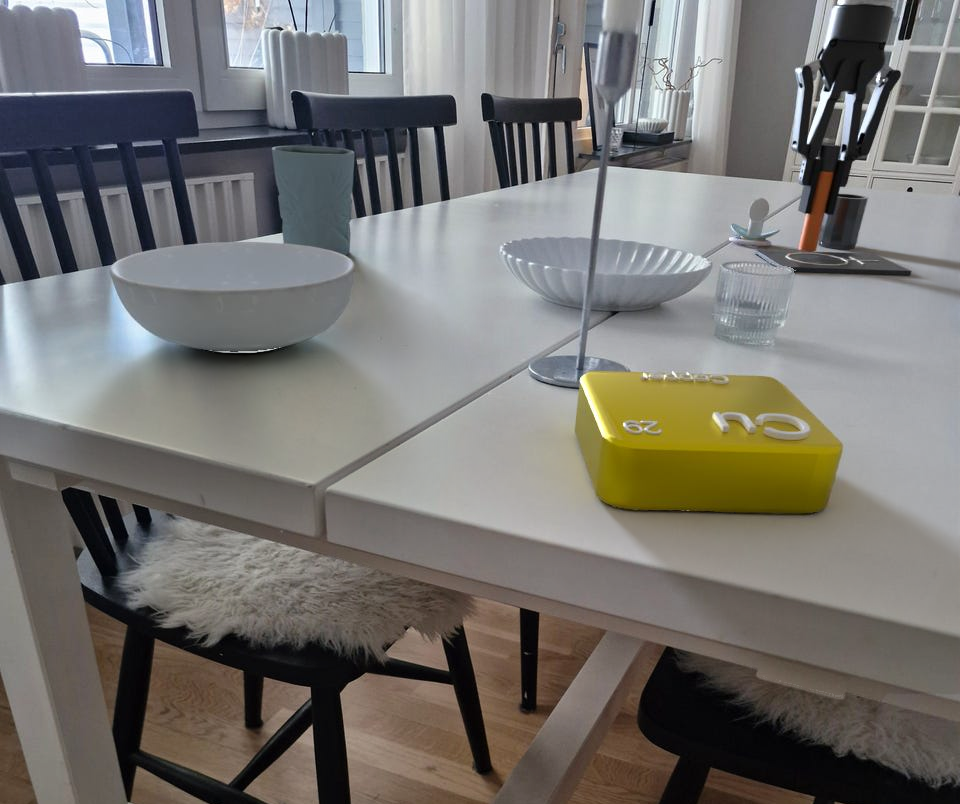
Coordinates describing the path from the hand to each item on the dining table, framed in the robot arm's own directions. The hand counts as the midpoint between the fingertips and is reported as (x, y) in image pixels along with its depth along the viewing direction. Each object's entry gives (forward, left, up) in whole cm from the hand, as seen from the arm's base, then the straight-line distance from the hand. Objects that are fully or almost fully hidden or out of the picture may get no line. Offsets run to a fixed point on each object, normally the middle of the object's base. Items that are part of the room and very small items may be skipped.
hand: (815, 212), depth 124 cm
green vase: (+68, +5, -7) cm, 68 cm away
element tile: (+36, +76, -7) cm, 84 cm away
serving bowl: (+71, +48, -7) cm, 86 cm away
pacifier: (+4, -12, -7) cm, 15 cm away
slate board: (-3, +2, -6) cm, 7 cm away
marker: (0, 0, -5) cm, 5 cm away
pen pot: (-10, -13, -6) cm, 18 cm away
